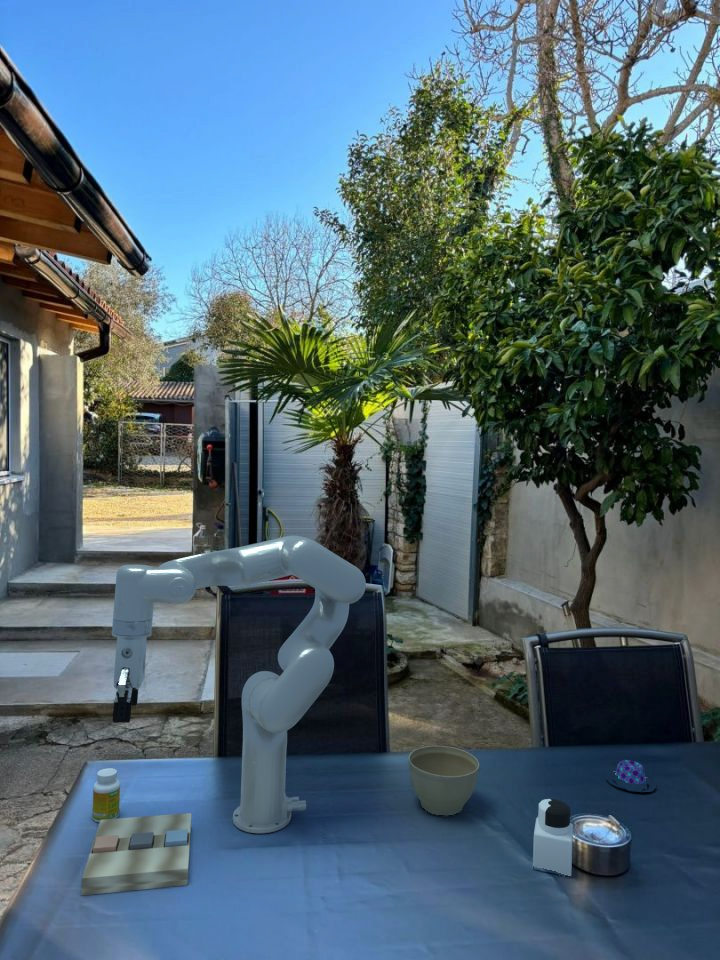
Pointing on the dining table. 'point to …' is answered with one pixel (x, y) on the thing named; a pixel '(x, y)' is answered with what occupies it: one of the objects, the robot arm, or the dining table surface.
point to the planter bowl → (443, 778)
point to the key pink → (106, 844)
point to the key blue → (176, 838)
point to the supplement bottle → (106, 795)
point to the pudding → (630, 772)
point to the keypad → (138, 856)
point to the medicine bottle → (553, 837)
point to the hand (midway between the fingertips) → (125, 713)
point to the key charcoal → (141, 841)
